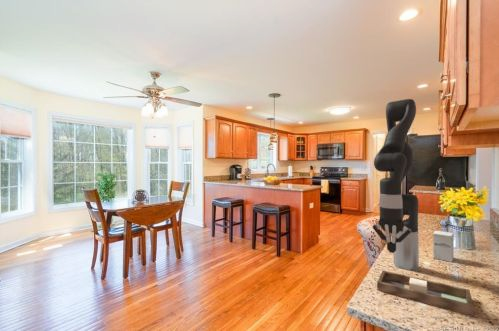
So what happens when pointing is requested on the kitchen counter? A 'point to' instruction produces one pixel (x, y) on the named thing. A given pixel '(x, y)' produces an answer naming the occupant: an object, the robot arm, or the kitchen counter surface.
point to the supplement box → (443, 245)
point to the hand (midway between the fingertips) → (391, 252)
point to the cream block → (418, 285)
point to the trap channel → (428, 293)
